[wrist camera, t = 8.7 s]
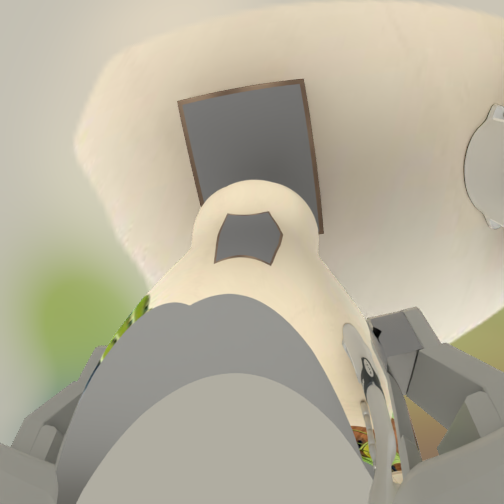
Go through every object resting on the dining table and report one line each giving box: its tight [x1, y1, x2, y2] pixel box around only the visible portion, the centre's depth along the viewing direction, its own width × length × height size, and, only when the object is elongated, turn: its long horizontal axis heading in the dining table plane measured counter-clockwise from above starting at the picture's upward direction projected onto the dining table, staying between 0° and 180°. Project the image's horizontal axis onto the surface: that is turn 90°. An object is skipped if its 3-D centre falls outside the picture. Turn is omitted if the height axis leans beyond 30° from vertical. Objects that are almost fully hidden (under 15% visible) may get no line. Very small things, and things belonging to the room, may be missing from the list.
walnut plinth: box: [177, 79, 324, 234], centre depth 31 cm, size 12×16×5 cm
